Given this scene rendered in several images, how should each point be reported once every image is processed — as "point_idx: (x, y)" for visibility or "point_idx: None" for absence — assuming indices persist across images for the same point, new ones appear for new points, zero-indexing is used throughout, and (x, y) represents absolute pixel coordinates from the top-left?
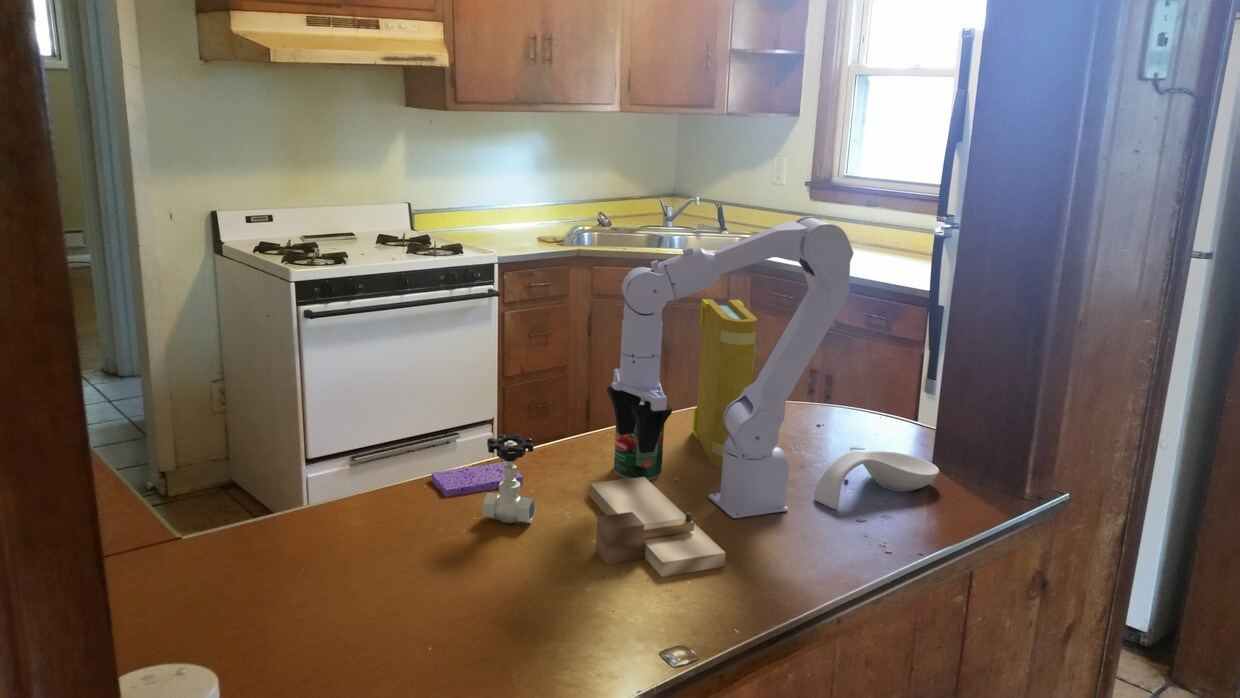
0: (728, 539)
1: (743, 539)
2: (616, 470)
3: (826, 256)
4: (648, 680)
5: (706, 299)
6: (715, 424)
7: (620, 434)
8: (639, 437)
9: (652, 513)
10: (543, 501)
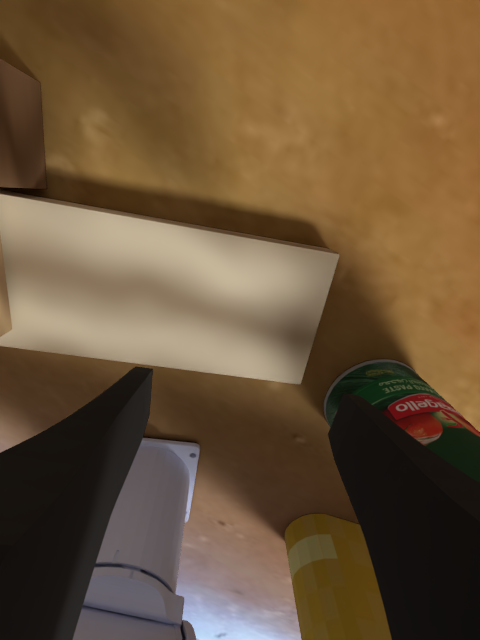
0: (28, 384)
1: (22, 405)
2: (391, 363)
3: None
4: None
5: None
6: (346, 603)
7: (345, 393)
8: (100, 399)
9: (114, 298)
10: (367, 114)
